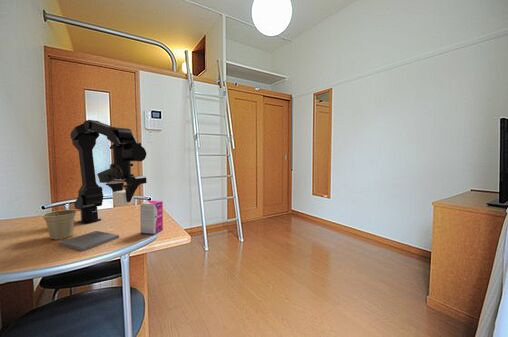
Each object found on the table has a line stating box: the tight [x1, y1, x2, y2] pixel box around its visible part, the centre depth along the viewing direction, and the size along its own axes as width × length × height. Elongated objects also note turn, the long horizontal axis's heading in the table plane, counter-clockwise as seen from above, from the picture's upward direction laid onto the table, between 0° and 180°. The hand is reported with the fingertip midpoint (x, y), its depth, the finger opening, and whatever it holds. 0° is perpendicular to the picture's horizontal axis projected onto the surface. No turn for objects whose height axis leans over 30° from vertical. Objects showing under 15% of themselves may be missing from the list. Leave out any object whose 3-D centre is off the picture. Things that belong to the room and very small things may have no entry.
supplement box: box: [139, 200, 164, 236], centre depth 88 cm, size 6×6×12 cm
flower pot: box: [41, 209, 78, 241], centre depth 83 cm, size 9×9×9 cm
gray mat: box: [58, 230, 120, 252], centre depth 79 cm, size 12×12×1 cm
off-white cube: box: [112, 189, 135, 207], centre depth 90 cm, size 5×5×5 cm
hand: (123, 201), depth 90 cm, fingers closed on off-white cube, 5 cm apart
